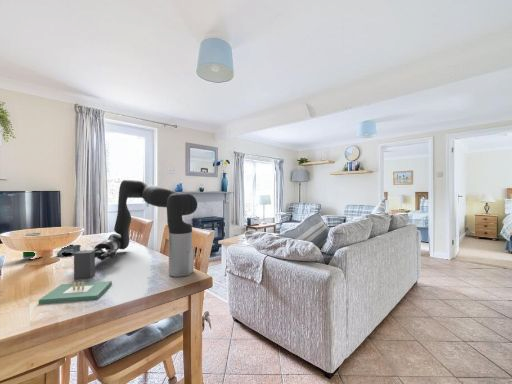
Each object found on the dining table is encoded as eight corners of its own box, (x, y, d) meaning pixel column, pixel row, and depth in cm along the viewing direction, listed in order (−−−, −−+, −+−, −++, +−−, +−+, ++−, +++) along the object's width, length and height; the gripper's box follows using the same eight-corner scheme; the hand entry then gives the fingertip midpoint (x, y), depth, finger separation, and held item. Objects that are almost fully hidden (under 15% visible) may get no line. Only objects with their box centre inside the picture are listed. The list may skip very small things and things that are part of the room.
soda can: (42, 258, 118) (42, 234, 118) (21, 261, 114) (21, 236, 114) (44, 255, 124) (44, 232, 124) (24, 257, 120) (24, 233, 120)
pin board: (111, 284, 88) (111, 274, 88) (97, 299, 76) (97, 287, 76) (61, 287, 85) (61, 277, 85) (38, 303, 73) (38, 291, 73)
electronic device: (59, 254, 132) (55, 257, 120) (61, 244, 133) (57, 246, 121) (79, 254, 137) (78, 257, 125) (81, 244, 138) (80, 246, 126)
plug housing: (94, 274, 98) (94, 250, 97) (90, 278, 94) (90, 252, 93) (79, 275, 96) (79, 250, 96) (74, 279, 92) (73, 253, 92)
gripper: (89, 241, 114) (70, 250, 98) (122, 240, 116) (109, 248, 101) (89, 257, 114) (70, 268, 98) (122, 256, 117) (109, 266, 101)
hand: (90, 258), depth 99 cm, fingers open, 8 cm apart
